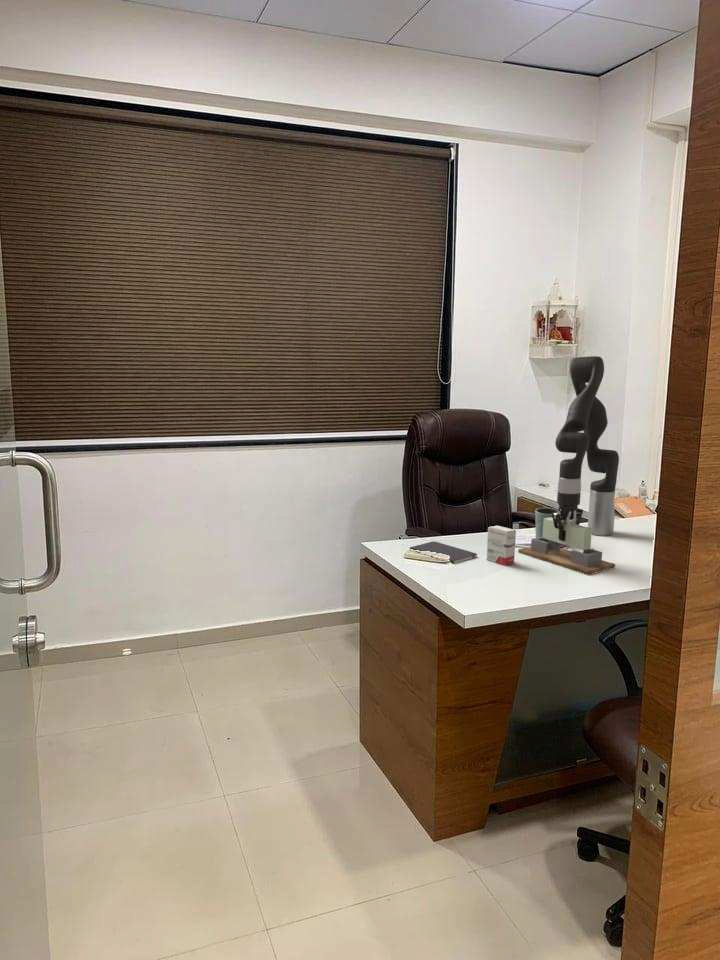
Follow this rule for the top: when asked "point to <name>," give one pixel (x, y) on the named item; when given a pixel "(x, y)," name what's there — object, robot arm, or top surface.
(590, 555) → the end cap
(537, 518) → the grey green cup
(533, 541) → the end cap
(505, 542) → the ink box
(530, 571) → the top surface
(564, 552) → the mounting board
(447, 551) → the notebook
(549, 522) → the pale green block
